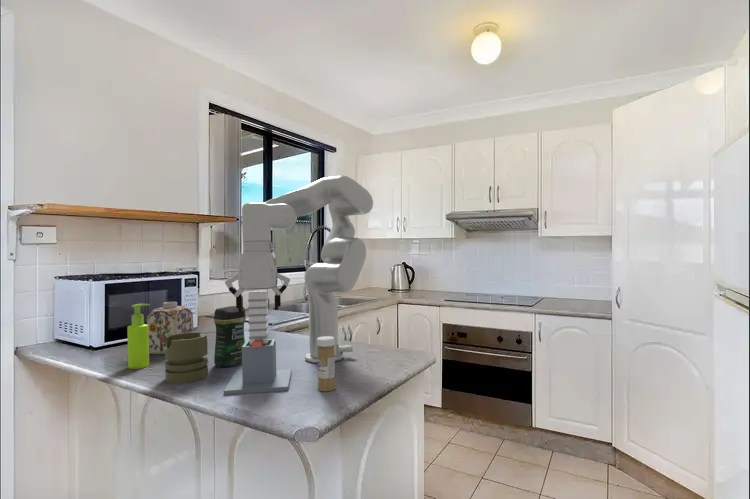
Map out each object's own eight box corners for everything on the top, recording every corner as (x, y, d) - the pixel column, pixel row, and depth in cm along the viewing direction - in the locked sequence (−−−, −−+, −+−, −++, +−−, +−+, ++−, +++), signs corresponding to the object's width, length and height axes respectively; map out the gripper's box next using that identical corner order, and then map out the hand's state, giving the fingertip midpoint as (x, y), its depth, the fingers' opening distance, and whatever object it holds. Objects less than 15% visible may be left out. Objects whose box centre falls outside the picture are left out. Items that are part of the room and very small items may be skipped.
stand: (291, 372, 125) (290, 331, 125) (287, 390, 109) (286, 343, 109) (235, 375, 123) (234, 334, 122) (223, 394, 107) (222, 346, 107)
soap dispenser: (156, 364, 138) (154, 303, 138) (136, 369, 131) (134, 305, 131) (144, 362, 140) (142, 302, 140) (124, 367, 134) (122, 305, 134)
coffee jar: (226, 369, 130) (225, 309, 130) (210, 366, 134) (208, 307, 134) (251, 361, 138) (249, 305, 138) (235, 358, 142) (233, 304, 142)
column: (269, 354, 118) (267, 290, 118) (267, 358, 114) (265, 292, 114) (252, 355, 118) (250, 291, 118) (249, 359, 113) (247, 293, 113)
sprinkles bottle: (314, 389, 109) (313, 337, 109) (327, 385, 113) (326, 334, 112) (326, 393, 106) (325, 340, 106) (339, 388, 110) (338, 336, 110)
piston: (171, 342, 115) (159, 336, 123) (172, 386, 115) (160, 377, 123) (213, 335, 122) (198, 330, 130) (214, 377, 122) (199, 369, 131)
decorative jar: (166, 346, 163) (165, 300, 163) (195, 347, 161) (193, 300, 161) (146, 354, 151) (144, 304, 151) (176, 355, 149) (174, 304, 149)
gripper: (290, 247, 121) (291, 306, 121) (227, 248, 118) (229, 309, 118) (288, 247, 113) (290, 310, 113) (221, 248, 111) (223, 313, 111)
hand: (258, 310), depth 116 cm, fingers open, 9 cm apart
